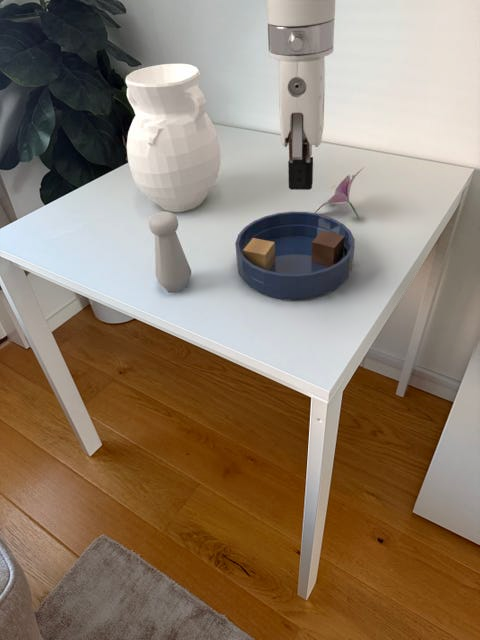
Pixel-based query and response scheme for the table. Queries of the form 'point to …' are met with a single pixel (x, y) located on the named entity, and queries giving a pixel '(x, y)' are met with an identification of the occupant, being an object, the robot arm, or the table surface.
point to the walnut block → (327, 248)
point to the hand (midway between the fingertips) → (300, 186)
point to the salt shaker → (169, 253)
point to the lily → (342, 192)
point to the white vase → (171, 137)
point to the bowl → (294, 256)
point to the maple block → (260, 253)
